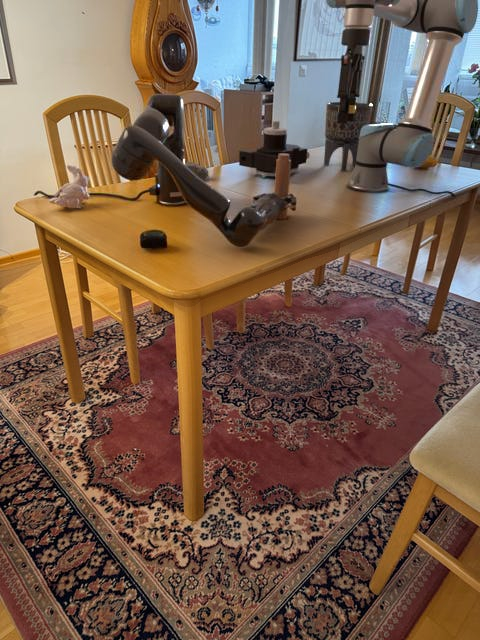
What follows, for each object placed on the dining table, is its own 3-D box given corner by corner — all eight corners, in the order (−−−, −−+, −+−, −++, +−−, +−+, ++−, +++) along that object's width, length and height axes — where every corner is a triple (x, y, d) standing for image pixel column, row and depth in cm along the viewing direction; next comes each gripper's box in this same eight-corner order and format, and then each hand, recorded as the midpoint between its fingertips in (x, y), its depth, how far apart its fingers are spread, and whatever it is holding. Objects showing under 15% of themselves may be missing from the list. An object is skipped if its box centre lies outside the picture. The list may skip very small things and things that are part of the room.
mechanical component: (240, 120, 182) (283, 115, 202) (239, 174, 192) (280, 164, 212) (283, 126, 170) (325, 120, 190) (280, 183, 180) (320, 171, 200)
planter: (313, 167, 208) (319, 103, 195) (331, 160, 222) (338, 101, 209) (353, 173, 199) (362, 107, 185) (369, 166, 213) (379, 104, 199)
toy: (412, 161, 206) (406, 154, 219) (414, 175, 209) (408, 167, 222) (438, 153, 203) (431, 147, 216) (440, 167, 206) (432, 160, 219)
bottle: (272, 218, 141) (276, 155, 132) (273, 214, 145) (277, 152, 135) (286, 219, 141) (290, 156, 131) (287, 215, 144) (291, 153, 135)
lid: (358, 112, 132) (358, 105, 132) (349, 113, 129) (350, 106, 128) (343, 111, 135) (344, 104, 134) (335, 112, 132) (335, 105, 131)
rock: (201, 174, 189) (200, 158, 186) (213, 179, 184) (213, 162, 180) (174, 179, 182) (173, 162, 178) (186, 184, 176) (186, 167, 173)
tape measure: (140, 252, 115) (139, 238, 113) (141, 242, 120) (140, 229, 119) (167, 251, 116) (166, 237, 114) (167, 241, 121) (166, 228, 120)
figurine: (99, 203, 151) (94, 164, 145) (61, 214, 140) (53, 172, 134) (83, 199, 155) (77, 161, 149) (45, 209, 144) (37, 168, 138)
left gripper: (242, 219, 132) (262, 204, 146) (289, 226, 128) (304, 210, 142) (242, 194, 128) (263, 181, 142) (291, 200, 124) (307, 186, 138)
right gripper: (353, 30, 130) (343, 118, 142) (332, 26, 117) (322, 124, 128) (379, 30, 127) (366, 120, 139) (360, 26, 113) (347, 126, 125)
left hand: (283, 195), depth 142 cm, fingers closed on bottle, 4 cm apart
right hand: (345, 122), depth 133 cm, fingers closed on lid, 5 cm apart
